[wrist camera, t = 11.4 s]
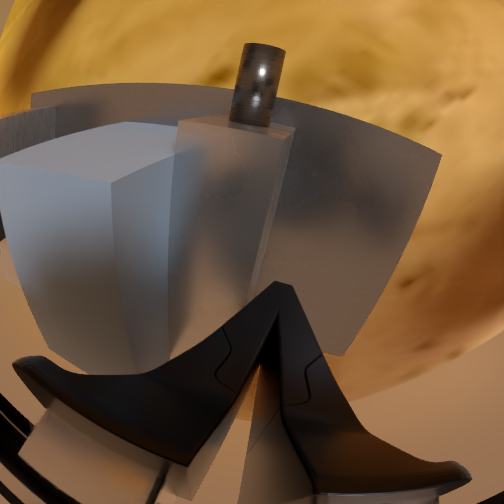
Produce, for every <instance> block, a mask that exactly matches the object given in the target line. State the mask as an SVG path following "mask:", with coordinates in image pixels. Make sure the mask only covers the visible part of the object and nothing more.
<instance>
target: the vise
mask: <svg viewBox="0 0 504 504" xmlns="http://www.w3.org/2000/svg"><path fill="white" fill-rule="evenodd" d="M233 95H234V90H233V89H226V88H217V87H208V86H198V85H185V84H167V83H117V84H99V85H87V86H77V87H69V88H62V89H55V90H49V91H43V92H38V93H32V97H31V109H26V110H22V111H18V112H14V113H10V114H7V115H3V116H0V158H3V157H5V156H8V155H10V154H13V153H15V152H18V151H20V150H23V149H26V148H29V147H31V146H34V145H37V144H40V143H43V142H46V141H49V140H53V139H56V138H59V137H63V136H66V135H70V134H73V133H77V132H81V131H85V130H89V129H93V128H97V127H102V126H106V125H111V124H116V123H121V122H138V123H149V124H159V125H168V126H176V127H178V122H179V120H184V119H192V118H199V117H207V116H217V115H227V114H230V110H231V105H232V100H233ZM271 122H274V123H278V124H283V125H287V126H291V127H295V128H296V129H295V134H294V138H293V142H292V146H291V150H290V154H289V159H288V163H287V167H286V171H285V175H284V179H283V183H282V187H281V191H280V195H279V199H278V203H277V207H276V211H275V215H274V219H273V223H272V227H271V231H270V235H269V239H268V243H267V247H266V251H265V255H264V259H263V263H262V267H261V271H260V274H259V278H258V282H257V286H256V290H255V294H254V298H255V297H256V296H257V295H258V294H260V293H261V292H262V291H263V290H264V289H265V288H266V287H268V286H269V285H270V284H271V283H272V282H273V281H279V282H282V283H286V284H290V285H292V286H293V288H294V290H295V292H296V294H297V296H298V299H299V301H300V303H301V305H302V308H303V310H304V312H305V314H306V317H307V319H308V321H309V323H310V326H311V328H312V330H313V332H314V335H315V337H316V339H317V341H318V344H319V346H320V348H321V351H322V352H324V353H328V354H333V355H337V356H343V355H344V353H345V352H346V351H347V349H348V348H349V346H350V345H351V343H352V342H353V340H354V338H355V337H356V335H357V334H358V332H359V331H360V329H361V327H362V326H363V324H364V323H365V321H366V319H367V318H368V316H369V314H370V313H371V311H372V309H373V308H374V306H375V304H376V303H377V301H378V299H379V297H380V296H381V294H382V292H383V290H384V288H385V287H386V285H387V283H388V281H389V279H390V277H391V275H392V273H393V271H394V270H395V268H396V266H397V264H398V262H399V260H400V258H401V256H402V254H403V252H404V249H405V247H406V245H407V243H408V241H409V239H410V237H411V234H412V232H413V230H414V228H415V225H416V223H417V221H418V218H419V216H420V214H421V211H422V209H423V206H424V204H425V201H426V199H427V196H428V194H429V191H430V188H431V186H432V183H433V180H434V177H435V174H436V172H437V169H438V166H439V163H440V160H441V156H442V155H441V154H439V153H438V152H435V151H433V150H431V149H429V148H427V147H425V146H423V145H421V144H419V143H417V142H414V141H412V140H410V139H408V138H405V137H403V136H400V135H398V134H396V133H393V132H391V131H388V130H386V129H383V128H381V127H378V126H375V125H373V124H370V123H367V122H364V121H361V120H358V119H355V118H352V117H349V116H346V115H343V114H340V113H337V112H333V111H330V110H327V109H323V108H319V107H316V106H312V105H308V104H304V103H300V102H296V101H292V100H288V99H283V98H278V97H276V99H275V103H274V108H273V113H272V117H271ZM0 272H1V274H2V276H3V277H4V278H6V279H7V280H9V281H10V282H11V283H12V284H14V285H15V286H16V287H18V288H19V289H21V290H22V291H23V289H22V287H21V284H20V281H19V278H18V275H17V272H16V269H15V266H14V263H13V260H12V257H11V253H10V250H9V246H8V243H7V239H6V235H5V231H4V226H3V222H2V217H1V212H0ZM254 298H253V299H254Z"/></svg>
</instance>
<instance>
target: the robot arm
mask: <svg viewBox="0 0 504 504" xmlns="http://www.w3.org/2000/svg"><path fill="white" fill-rule="evenodd" d="M259 365H260V370H259V377H258V383H257V390H256V397H255V403H254V410H253V416H252V423H251V429H250V435H249V442H248V447H247V453H246V454H247V455H246V459H245V465H244V471H243V477H242V482H241V488H240V493H239V499H238V504H440V496H441V495H443V494H446V493H448V492H450V491H452V490H455V489H457V488H459V487H461V486H463V485H465V484H467V483H469V482H470V481H471V480H472V477H471V475H470V473H469V471H468V470H467V469H466V468H465V467H463V466H462V465H460V464H459V463H457V462H455V461H445V462H428V461H424V460H421V459H419V458H417V457H414V456H412V455H410V454H408V453H406V452H404V451H402V450H400V449H398V448H396V447H394V446H393V445H391V444H389V443H387V442H385V441H383V440H381V439H379V438H377V437H376V436H374V435H372V434H371V433H369V432H368V431H367V430H366V429H365V428H364V427H363V426H362V424H361V423H360V422H359V420H358V419H357V417H356V415H355V414H354V412H353V410H352V408H351V407H350V405H349V403H348V401H347V400H346V398H345V396H344V395H343V393H342V391H341V390H340V388H339V386H338V384H337V382H336V380H335V379H334V377H333V375H332V373H331V371H330V368H329V366H328V364H327V362H326V360H325V357H324V355H323V353H322V351H321V348H320V346H319V344H318V341H317V339H316V337H315V335H314V332H313V330H312V328H311V326H310V323H309V321H308V319H307V317H306V314H305V312H304V310H303V308H302V305H301V303H300V301H299V299H298V296H297V294H296V292H295V290H294V288H293V286H292V285H290V284H286V283H282V282H279V281H273V282H272V283H271V284H270V285H269V286H268V287H266V288H265V289H264V290H263V291H262V292H261V293H260V294H258V295H257V296H256V297H255V298H254V299H253V300H251V301H250V302H249V303H248V304H247V305H245V306H244V307H243V308H242V309H241V310H240V311H238V312H237V313H236V314H235V315H234V316H232V317H231V318H230V319H229V320H228V321H226V322H225V323H224V324H223V325H222V326H221V327H219V328H218V329H217V330H215V331H214V332H213V333H212V334H210V335H209V336H208V337H207V338H205V339H204V340H203V341H201V342H200V343H198V344H196V345H195V346H193V347H192V348H190V349H189V350H187V351H185V352H183V353H182V354H180V355H178V356H176V357H175V358H173V359H171V360H170V361H168V362H166V363H164V364H162V365H161V366H159V367H157V368H155V369H153V370H151V371H148V372H145V373H140V374H124V375H84V374H77V373H73V372H69V371H67V370H64V369H63V368H61V367H59V366H58V365H56V364H55V363H53V362H52V361H50V360H49V359H47V358H46V357H43V356H28V357H23V358H20V359H18V360H16V361H14V362H13V363H12V366H13V368H14V370H15V372H16V373H17V375H18V376H19V377H20V378H21V380H22V381H23V382H24V384H25V385H26V386H27V387H28V389H29V390H30V391H31V392H32V394H33V395H34V396H35V397H36V398H37V399H38V401H39V402H40V403H41V404H42V405H43V406H44V407H45V408H46V409H45V410H44V412H43V414H42V415H41V416H40V418H39V419H38V421H37V422H36V424H35V425H33V424H32V423H31V422H30V421H29V420H28V419H27V418H25V417H24V416H23V415H22V414H21V413H20V412H19V411H18V410H17V409H16V408H15V407H13V406H12V404H11V403H10V402H9V401H8V400H7V399H6V398H5V397H4V396H2V394H1V393H0V494H1V495H2V496H3V497H4V498H5V499H6V500H7V501H8V502H9V503H10V504H174V503H175V500H176V498H177V496H178V497H181V498H184V499H187V500H190V501H192V499H193V497H194V496H195V494H196V492H197V490H198V489H199V487H200V484H201V483H202V481H203V479H204V478H205V476H206V474H207V472H208V470H209V468H210V466H211V465H212V463H213V461H214V459H215V457H216V455H217V453H218V451H219V449H220V447H221V445H222V443H223V441H224V439H225V437H226V435H227V433H228V431H229V429H230V427H231V425H232V423H233V421H234V419H235V417H236V415H237V413H238V411H239V409H240V406H241V404H242V402H243V400H244V398H245V396H246V394H247V392H248V389H249V387H250V385H251V383H252V381H253V378H254V376H255V374H256V372H257V370H258V367H259ZM477 504H504V491H503V492H501V493H499V494H497V495H495V496H493V497H490V498H488V499H486V500H484V501H482V502H480V503H477Z"/></svg>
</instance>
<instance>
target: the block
mask: <svg viewBox="0 0 504 504" xmlns="http://www.w3.org/2000/svg"><path fill="white" fill-rule="evenodd" d="M177 129H178V127H176V126H168V125H159V124H149V123H138V122H121V123H116V124H111V125H106V126H102V127H97V128H93V129H89V130H85V131H81V132H77V133H73V134H70V135H66V136H63V137H59V138H56V139H53V140H49V141H46V142H43V143H40V144H37V145H34V146H31V147H29V148H26V149H23V150H20V151H18V152H15V153H13V154H10V155H8V156H5V157H3V158H0V212H1V217H2V222H3V226H4V231H5V235H6V239H7V243H8V246H9V250H10V253H11V257H12V260H13V263H14V266H15V269H16V272H17V275H18V278H19V281H20V284H21V287H22V289H23V292H24V295H25V297H26V300H27V302H28V305H29V307H30V309H31V312H32V314H33V316H34V318H35V320H36V323H37V325H38V327H39V329H40V331H41V333H42V335H43V337H44V339H45V341H46V343H47V345H48V347H49V349H51V350H52V351H54V352H55V353H56V354H58V355H59V356H61V357H62V358H64V359H65V360H67V361H68V362H70V363H72V364H74V365H75V366H77V367H78V368H80V369H81V370H83V371H85V372H86V373H88V374H90V375H124V374H140V373H145V372H148V371H151V370H153V369H155V368H157V367H159V366H161V365H162V364H164V363H166V362H167V361H168V359H169V357H170V350H169V328H168V240H169V218H170V201H171V187H172V176H173V165H174V155H175V146H176V137H177Z"/></svg>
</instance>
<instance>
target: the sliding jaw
mask: <svg viewBox="0 0 504 504" xmlns="http://www.w3.org/2000/svg"><path fill="white" fill-rule="evenodd" d="M285 54H286V51H284V50H283V49H280V48H277V47H274V46H270V45H265V44H258V43H246V44H244V47H243V51H242V56H241V61H240V65H239V70H238V75H237V80H236V85H235V89H234V95H233V100H232V105H231V110H230V114H227V115H217V116H207V117H199V118H192V119H184V120H179V122H178V129H177V137H176V146H175V155H174V165H173V176H172V187H171V201H170V218H169V240H168V328H169V350H170V360H171V359H173V358H175V357H176V356H178V355H180V354H182V353H183V352H185V351H187V350H189V349H190V348H192V347H193V346H195V345H196V344H198V343H200V342H201V341H203V340H204V339H205V338H207V337H208V336H209V335H210V334H212V333H213V332H214V331H215V330H217V329H218V328H219V327H221V326H222V325H223V324H224V323H225V322H226V321H228V320H229V319H230V318H231V317H232V316H234V315H235V314H236V313H237V312H238V311H240V310H241V309H242V308H243V307H244V306H245V305H247V304H248V303H249V302H250V301H251V300H253V298H254V294H255V290H256V286H257V282H258V278H259V274H260V271H261V267H262V263H263V259H264V255H265V251H266V247H267V243H268V239H269V235H270V231H271V227H272V223H273V219H274V215H275V211H276V207H277V203H278V199H279V195H280V191H281V187H282V183H283V179H284V175H285V171H286V167H287V163H288V159H289V154H290V150H291V146H292V142H293V138H294V134H295V129H296V128H295V127H291V126H287V125H283V124H278V123H274V122H271V117H272V113H273V108H274V103H275V99H276V94H277V90H278V85H279V81H280V76H281V72H282V67H283V63H284V58H285Z"/></svg>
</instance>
